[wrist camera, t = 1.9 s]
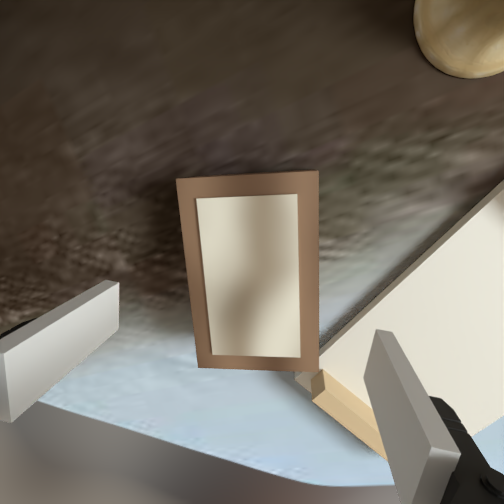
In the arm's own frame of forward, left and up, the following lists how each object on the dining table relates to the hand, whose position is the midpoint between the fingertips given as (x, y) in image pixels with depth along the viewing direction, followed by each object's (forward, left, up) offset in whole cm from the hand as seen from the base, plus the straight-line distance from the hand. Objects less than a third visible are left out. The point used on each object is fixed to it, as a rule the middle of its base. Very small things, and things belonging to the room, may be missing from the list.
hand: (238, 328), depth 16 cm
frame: (0, 0, -11) cm, 11 cm away
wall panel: (+16, +6, -10) cm, 20 cm away
